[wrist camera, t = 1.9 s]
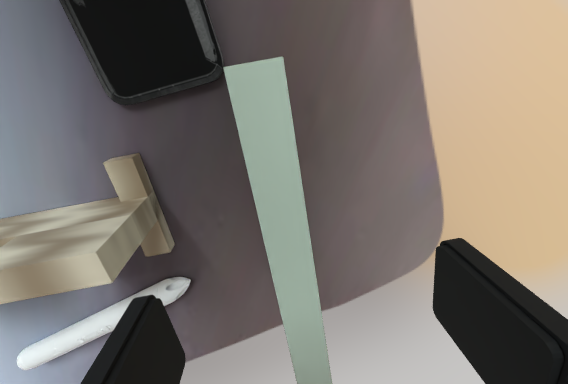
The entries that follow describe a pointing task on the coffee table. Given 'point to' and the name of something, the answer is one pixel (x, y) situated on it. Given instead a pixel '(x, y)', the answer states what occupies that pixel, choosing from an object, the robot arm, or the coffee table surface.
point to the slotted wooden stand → (83, 238)
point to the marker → (95, 325)
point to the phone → (147, 45)
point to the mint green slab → (281, 207)
